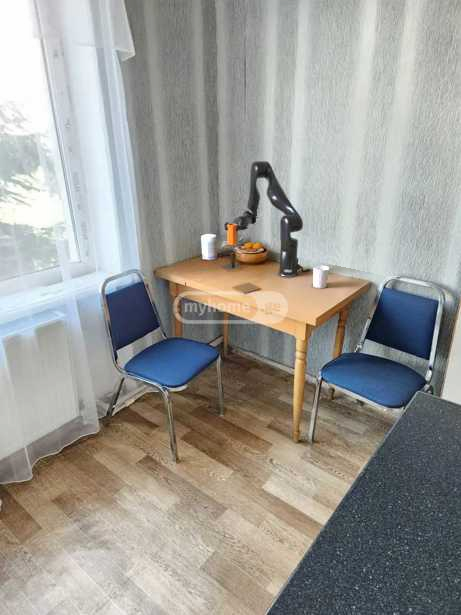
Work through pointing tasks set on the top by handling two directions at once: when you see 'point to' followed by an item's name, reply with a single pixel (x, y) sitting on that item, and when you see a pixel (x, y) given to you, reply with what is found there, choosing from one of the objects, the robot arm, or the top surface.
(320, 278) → the white cup
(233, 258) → the stake
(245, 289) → the cork coaster
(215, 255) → the supplement tub
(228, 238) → the orange cylinder
